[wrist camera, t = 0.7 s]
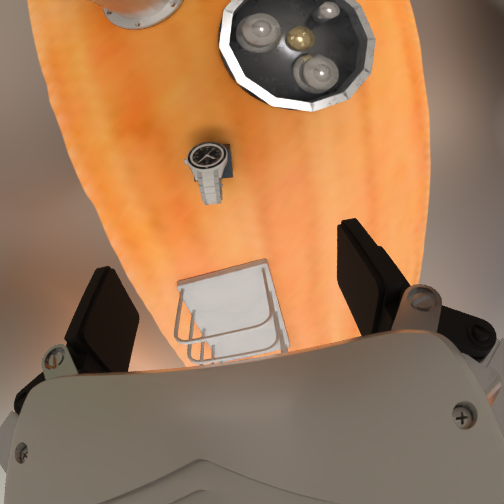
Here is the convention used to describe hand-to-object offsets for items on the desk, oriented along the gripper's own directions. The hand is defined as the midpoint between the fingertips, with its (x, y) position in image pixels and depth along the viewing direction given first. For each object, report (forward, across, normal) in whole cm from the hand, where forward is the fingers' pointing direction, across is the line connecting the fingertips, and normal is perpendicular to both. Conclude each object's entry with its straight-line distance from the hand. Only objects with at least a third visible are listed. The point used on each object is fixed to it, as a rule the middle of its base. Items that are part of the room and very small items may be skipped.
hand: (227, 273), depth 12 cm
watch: (+34, +3, +4) cm, 34 cm away
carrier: (+34, -12, -12) cm, 38 cm away
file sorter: (+34, +5, +37) cm, 50 cm away
